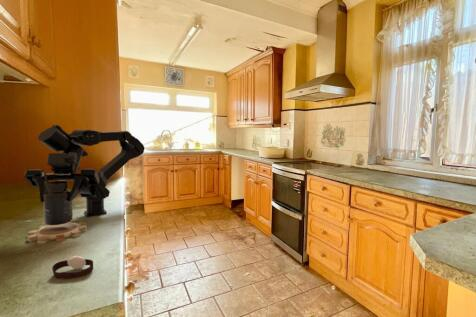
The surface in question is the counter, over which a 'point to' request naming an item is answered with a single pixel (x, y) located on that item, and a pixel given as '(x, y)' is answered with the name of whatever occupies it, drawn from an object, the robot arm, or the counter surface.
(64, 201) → the supplement bottle
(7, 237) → the counter surface
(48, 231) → the sprocket wheel
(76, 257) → the watch
